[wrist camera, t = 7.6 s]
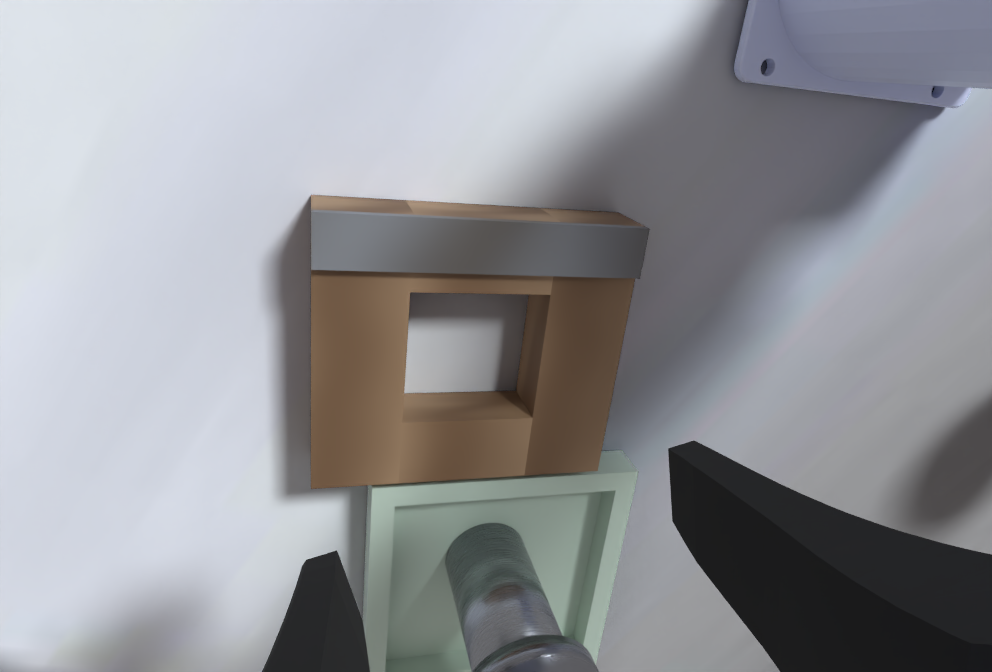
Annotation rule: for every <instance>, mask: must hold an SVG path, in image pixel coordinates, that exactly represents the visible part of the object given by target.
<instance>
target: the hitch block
mask: <svg viewBox="0 0 992 672" xmlns="http://www.w3.org/2000/svg"><path fill="white" fill-rule="evenodd" d="M649 230H650V229H649V228H647V227H645V226H643V225H641V224H639V223H637V222H636V221H634V220H632V219H630V218H628V217H626V216H624V215H622V214H620V213H618V212H601V211H584V210H566V209H549V208H531V207H514V206H496V205H479V204H461V203H444V202H426V201H409V200H391V199H374V198H356V197H339V196H321V195H311V489H317V488H333V487H349V486H365V485H381V484H397V483H413V482H429V481H445V480H461V479H477V478H493V477H509V476H525V475H541V474H557V473H573V472H589V471H598V467H599V461H600V456H601V451H602V446H603V441H604V436H605V431H606V425H607V420H608V415H609V410H610V405H611V400H612V395H613V389H614V384H615V379H616V374H617V369H618V364H619V359H620V353H621V348H622V343H623V338H624V333H625V328H626V323H627V317H628V312H629V307H630V302H631V297H632V292H633V287H634V282H635V278H636V279H640V275H641V270H642V265H643V260H644V255H645V250H646V245H647V240H648V235H649ZM410 292H420V293H475V294H529V296H528V304H527V311H526V319H525V327H524V334H523V342H522V349H521V357H520V364H519V372H518V379H517V387H516V391H487V392H447V393H406V394H404V386H405V370H406V353H407V337H408V320H409V304H410Z"/></svg>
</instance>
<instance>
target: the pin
mask: <svg viewBox="0 0 992 672" xmlns="http://www.w3.org/2000/svg"><path fill="white" fill-rule="evenodd" d="M445 565H446V570H447V574H448V578H449V582H450V586H451V590H452V594H453V598H454V602H455V606H456V610H457V614H458V618H459V622H460V626H461V630H462V634H463V638H464V642H465V646H466V651H467V655H468V659H469V663H470V667H471V671H472V672H599V671H598V669H597V667H596V665H595V663H594V660H593V658H592V656H591V654H590V652H589V651H588V650H587V648H586V647H584V646H583V645H582V644H581V643H579V642H578V641H576V640H574V639H571V638H569V637H565V636H563V635H562V633H561V631H560V628H559V626H558V623H557V621H556V619H555V616H554V614H553V612H552V609H551V607H550V604H549V602H548V600H547V597H546V595H545V592H544V590H543V588H542V585H541V583H540V580H539V578H538V576H537V573H536V571H535V568H534V566H533V564H532V561H531V559H530V556H529V554H528V552H527V549H526V547H525V544H524V542H523V540H522V538H521V536H520V534H519V533H518V532H517V531H516V530H515V529H513V528H512V527H510V526H508V525H505V524H501V523H485V524H480V525H477V526H474V527H472V528H470V529H468V530H466V531H464V532H463V533H462V534H460V535H459V536H458V537H457V538H456V539H455V540H454V541H453V542H452V544H451V545H450V547H449V549H448V551H447V554H446V559H445Z"/></svg>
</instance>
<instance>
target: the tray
mask: <svg viewBox="0 0 992 672" xmlns="http://www.w3.org/2000/svg"><path fill="white" fill-rule="evenodd" d="M638 472H639V471H638V470H637V469H636V468H635V466H634V465H633V464H632V463H631V461H630V460H629V459H628V457H627V456H626V455H625V454H624V452H623V451H622V450H616V451H601V456H600V461H599V467H598V471H589V472H573V473H557V474H541V475H525V476H509V477H493V478H477V479H461V480H445V481H429V482H413V483H397V484H381V485H368V493H367V518H366V543H365V568H364V593H363V619H362V621H363V626H364V632H365V639H366V646H367V653H368V660H369V668H370V672H472V671H471V667H470V663H469V659H468V655H467V651H466V646H465V642H464V638H463V634H462V630H461V626H460V622H459V618H458V614H457V610H456V606H455V602H454V598H453V594H452V590H451V586H450V582H449V578H448V574H447V570H446V565H445V559H446V554H447V551H448V549H449V547H450V545H451V544H452V542H453V541H454V540H455V539H456V538H457V537H458V536H459V535H460V534H462V533H463V532H464V531H466V530H468V529H470V528H472V527H474V526H477V525H480V524H485V523H501V524H505V525H508V526H510V527H512V528H513V529H515V530H516V531H517V532H518V533H519V534H520V536H521V538H522V540H523V542H524V544H525V547H526V549H527V552H528V554H529V556H530V559H531V561H532V564H533V566H534V568H535V571H536V573H537V576H538V578H539V580H540V583H541V585H542V588H543V590H544V592H545V595H546V597H547V600H548V602H549V604H550V607H551V609H552V612H553V614H554V616H555V619H556V621H557V623H558V626H559V628H560V631H561V633H562V635H563V636H565V637H569V638H571V639H574V640H576V641H578V642H579V643H581V644H582V645H583V646H584V647H586V648H587V650H588V651H589V652H590V654H591V656H592V658H593V660H594V663H595V665H596V661H597V656H598V652H599V647H600V643H601V638H602V634H603V629H604V625H605V620H606V616H607V611H608V607H609V602H610V598H611V593H612V589H613V584H614V580H615V575H616V571H617V566H618V562H619V557H620V553H621V548H622V544H623V539H624V535H625V530H626V526H627V521H628V517H629V512H630V508H631V503H632V499H633V494H634V490H635V485H636V481H637V476H638Z"/></svg>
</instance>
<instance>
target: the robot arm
mask: <svg viewBox="0 0 992 672" xmlns="http://www.w3.org/2000/svg"><path fill="white" fill-rule="evenodd" d="M764 60H766V62H767V70H766V72H765V73H764V74H763V75H762V73H761V65H762V62H763V61H764ZM734 72H735V75H736V77H737V78H738V79H739V80H740V81H743V82H748V83H756V84H764V85H772V86H780V87H788V88H796V89H804V90H812V91H820V92H828V93H836V94H844V95H852V96H860V97H868V98H876V99H884V100H892V101H900V102H908V103H916V104H924V105H932V106H940V107H949V108H956V107H959V106H961V105H963V103H964V102H965V101H966V100H967V98H968V96H969V95H970V92H971V89H972V88H986V89H992V0H749V1H748V6H747V10H746V15H745V19H744V24H743V28H742V33H741V37H740V41H739V46H738V50H737V55H736V59H735V64H734ZM933 86H935V88H934V92H933V93H932V94H931V92H932V88H933ZM668 451H669V468H670V485H671V502H672V519H673V523H674V524H675V526H676V528H677V530H678V531H679V533H680V535H681V537H682V538H683V540H684V542H685V544H686V545H687V547H688V548H689V550H690V552H691V553H692V555H693V557H694V558H695V560H696V562H697V563H698V564H699V565H700V567H701V568H702V569H703V571H704V572H705V573H706V575H707V576H708V577H709V579H710V580H711V581H712V582H713V584H714V585H715V586H716V588H717V589H718V590H719V592H720V593H721V594H722V595H723V597H724V598H725V599H726V601H727V602H728V603H729V604H730V606H731V607H732V608H733V609H734V611H735V612H736V613H737V615H738V616H739V617H740V618H741V620H742V621H743V622H744V623H745V625H746V626H747V627H748V629H749V630H750V631H751V632H752V634H753V635H754V636H755V638H756V639H757V640H758V641H759V643H760V644H761V645H762V646H763V648H764V649H765V651H766V652H767V653H768V655H769V656H770V658H771V659H772V660H773V662H774V663H775V665H776V666H777V667H778V669H779V670H780V672H992V555H991V554H986V553H981V552H977V551H972V550H968V549H964V548H960V547H955V546H951V545H947V544H943V543H940V542H936V541H932V540H929V539H925V538H922V537H918V536H915V535H911V534H908V533H904V532H901V531H898V530H895V529H891V528H888V527H885V526H882V525H879V524H877V523H874V522H871V521H868V520H865V519H862V518H860V517H857V516H854V515H851V514H848V513H846V512H843V511H841V510H838V509H836V508H833V507H831V506H828V505H826V504H824V503H821V502H819V501H817V500H814V499H812V498H810V497H807V496H805V495H803V494H800V493H798V492H796V491H794V490H792V489H790V488H787V487H785V486H783V485H781V484H779V483H777V482H775V481H773V480H771V479H769V478H767V477H765V476H763V475H761V474H759V473H757V472H755V471H753V470H751V469H749V468H747V467H745V466H743V465H741V464H739V463H737V462H735V461H733V460H731V459H729V458H727V457H725V456H723V455H722V454H720V453H718V452H716V451H714V450H712V449H710V448H708V447H706V446H704V445H702V444H700V443H698V442H696V441H691V442H688V443H685V444H682V445H678V446H675V447H672V448H669V449H668ZM262 672H370V668H369V660H368V653H367V646H366V639H365V632H364V626H363V621H362V618H361V616H360V613H359V610H358V607H357V604H356V602H355V599H354V596H353V593H352V591H351V588H350V585H349V582H348V580H347V577H346V574H345V571H344V569H343V566H342V563H341V560H340V558H339V555H338V552H337V551H334V552H331V553H327V554H324V555H321V556H318V557H314V558H311V559H308V560H306V561H305V563H304V564H303V566H302V569H301V572H300V575H299V578H298V581H297V585H296V588H295V591H294V593H293V596H292V599H291V602H290V605H289V607H288V610H287V613H286V616H285V618H284V621H283V623H282V626H281V628H280V631H279V633H278V636H277V638H276V641H275V643H274V645H273V648H272V650H271V653H270V655H269V657H268V660H267V662H266V664H265V666H264V668H263V671H262Z"/></svg>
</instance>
